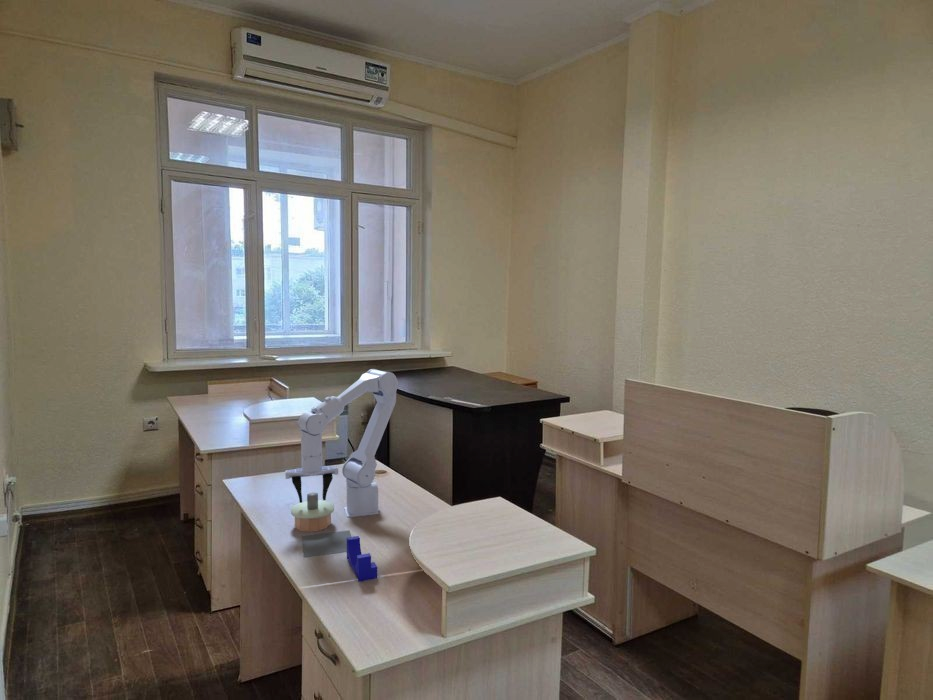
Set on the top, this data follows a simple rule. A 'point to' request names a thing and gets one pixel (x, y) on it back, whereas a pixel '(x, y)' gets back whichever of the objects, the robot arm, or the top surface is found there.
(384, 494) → the top surface
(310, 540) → the mat
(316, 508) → the lid
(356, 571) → the blue stepped bracket
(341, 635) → the top surface
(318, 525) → the bowl
